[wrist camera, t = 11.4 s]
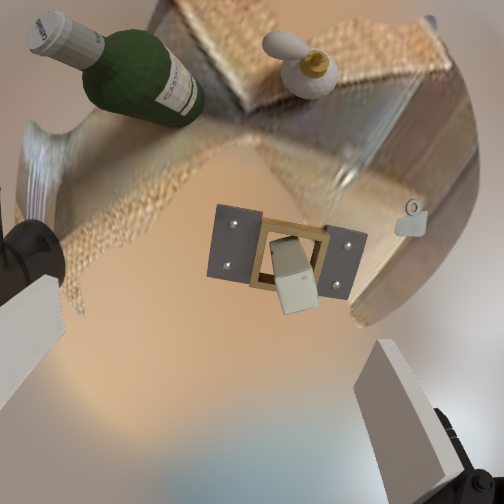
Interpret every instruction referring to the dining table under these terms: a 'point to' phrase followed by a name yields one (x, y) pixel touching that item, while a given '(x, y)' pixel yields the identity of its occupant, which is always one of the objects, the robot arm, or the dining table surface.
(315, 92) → the perfume bottle
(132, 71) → the wine bottle
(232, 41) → the dining table surface
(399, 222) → the mounting bracket
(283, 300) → the box
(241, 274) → the square hole socket
